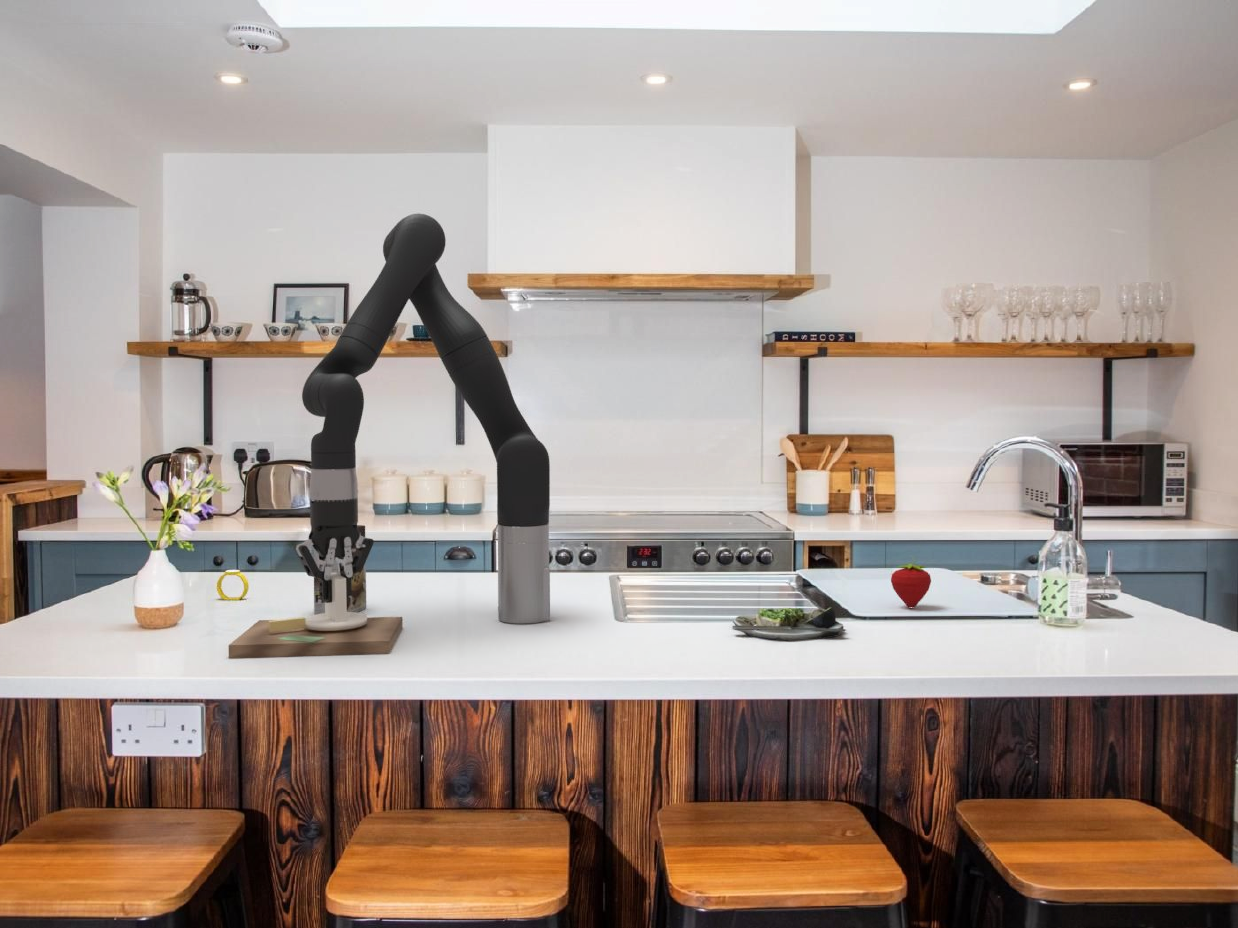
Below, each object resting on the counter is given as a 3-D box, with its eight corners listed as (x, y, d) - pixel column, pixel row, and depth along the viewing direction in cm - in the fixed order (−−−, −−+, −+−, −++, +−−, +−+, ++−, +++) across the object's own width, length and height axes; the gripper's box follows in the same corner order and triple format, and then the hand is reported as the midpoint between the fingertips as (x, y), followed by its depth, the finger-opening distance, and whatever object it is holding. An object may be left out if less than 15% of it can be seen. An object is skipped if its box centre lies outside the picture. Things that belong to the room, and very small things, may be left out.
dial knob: (357, 615, 168) (357, 569, 167) (374, 626, 159) (373, 577, 158) (263, 625, 160) (262, 577, 159) (275, 637, 151) (274, 586, 151)
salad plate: (754, 649, 154) (754, 620, 154) (708, 626, 171) (708, 600, 171) (860, 639, 161) (860, 612, 160) (806, 618, 178) (806, 593, 177)
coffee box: (345, 618, 177) (343, 530, 176) (313, 616, 179) (311, 529, 178) (368, 608, 186) (366, 524, 185) (337, 607, 187) (335, 523, 187)
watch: (249, 599, 197) (251, 570, 197) (243, 602, 194) (245, 572, 194) (220, 597, 197) (222, 568, 197) (214, 600, 194) (215, 570, 194)
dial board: (402, 628, 169) (402, 616, 169) (389, 653, 151) (389, 640, 151) (259, 631, 166) (259, 619, 166) (228, 658, 148) (228, 644, 148)
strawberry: (885, 605, 187) (886, 553, 187) (923, 604, 188) (924, 553, 187) (896, 611, 182) (897, 558, 181) (936, 610, 182) (936, 557, 182)
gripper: (360, 492, 167) (361, 592, 168) (283, 497, 157) (284, 603, 158) (383, 495, 162) (384, 598, 162) (304, 500, 152) (306, 610, 153)
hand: (335, 600), depth 160 cm, fingers closed on dial knob, 2 cm apart
